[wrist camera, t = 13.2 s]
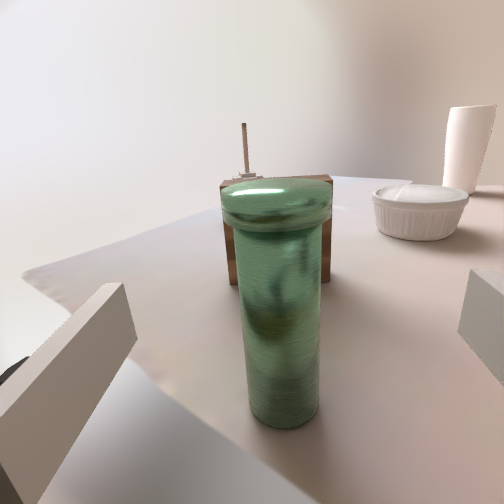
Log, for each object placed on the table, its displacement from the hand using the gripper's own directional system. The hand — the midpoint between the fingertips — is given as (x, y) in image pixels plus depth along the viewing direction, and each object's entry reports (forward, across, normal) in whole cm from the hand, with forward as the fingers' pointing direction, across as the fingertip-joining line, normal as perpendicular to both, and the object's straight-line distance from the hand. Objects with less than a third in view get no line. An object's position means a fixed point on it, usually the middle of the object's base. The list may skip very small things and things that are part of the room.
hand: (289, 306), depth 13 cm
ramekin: (+32, +18, -9) cm, 38 cm away
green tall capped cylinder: (+8, -1, -8) cm, 12 cm away
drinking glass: (+52, +34, -9) cm, 62 cm away
